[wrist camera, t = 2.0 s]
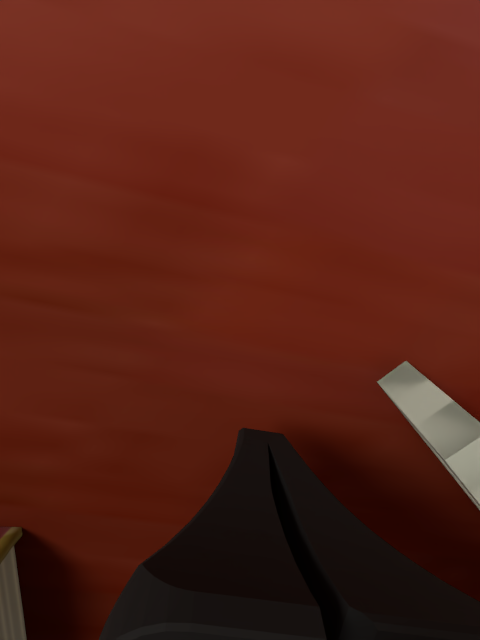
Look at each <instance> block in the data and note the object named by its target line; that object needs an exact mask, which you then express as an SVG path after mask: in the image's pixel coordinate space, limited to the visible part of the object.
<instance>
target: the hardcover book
mask: <svg viewBox="0 0 480 640" xmlns="http://www.w3.org/2000/svg"><path fill="white" fill-rule="evenodd" d="M21 537H22V527H0V640H27V637H26V630H25V623H24V615H23V608H22V600H21V593H20V586H19V578H18V571H17V564H16V556H15V549H14V545H15V544H16V542H17V541H18V540H19V539H20V538H21Z"/></svg>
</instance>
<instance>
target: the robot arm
mask: <svg viewBox="0 0 480 640" xmlns="http://www.w3.org/2000/svg"><path fill="white" fill-rule="evenodd" d="M99 640H480V602H479V601H477V600H475V599H474V598H472V597H470V596H468V595H466V594H465V593H463V592H461V591H459V590H458V589H456V588H454V587H452V586H451V585H449V584H447V583H445V582H444V581H442V580H440V579H439V578H437V577H436V576H434V575H433V574H431V573H430V572H428V571H427V570H425V569H423V568H422V567H420V566H419V565H417V564H416V563H414V562H413V561H411V560H410V559H409V558H407V557H406V556H404V555H403V554H401V553H400V552H399V551H397V550H396V549H395V548H393V547H392V546H391V545H389V544H388V543H387V542H385V541H384V540H383V539H382V538H380V537H379V536H378V535H376V534H375V533H374V532H373V531H371V530H370V529H369V528H368V527H367V526H365V525H364V524H363V523H362V522H361V521H360V520H359V519H358V518H357V517H355V516H354V515H353V514H352V513H351V512H350V511H349V510H348V509H347V508H346V507H345V506H344V505H342V504H341V503H340V502H339V501H338V500H337V499H336V497H335V496H334V495H333V494H332V493H331V492H330V491H329V490H328V489H327V488H326V487H325V486H324V485H323V483H322V482H321V481H320V480H319V479H318V478H317V477H316V475H315V474H314V473H313V472H312V471H311V469H310V468H309V467H308V466H307V465H306V463H305V462H304V461H303V460H302V458H301V457H300V456H299V454H298V453H297V452H296V450H295V449H294V448H293V447H292V445H291V444H290V443H289V441H288V440H287V439H286V437H285V436H284V435H283V434H280V433H273V432H267V431H260V430H254V429H247V428H242V429H241V430H239V433H238V438H237V443H236V448H235V453H234V456H233V458H232V461H231V463H230V465H229V467H228V469H227V471H226V473H225V474H224V476H223V478H222V480H221V481H220V483H219V485H218V486H217V488H216V489H215V491H214V492H213V494H212V495H211V496H210V498H209V499H208V501H207V502H206V503H205V504H204V506H203V507H202V508H201V509H200V510H199V512H198V513H197V514H196V515H195V516H194V517H193V519H192V520H191V521H190V522H189V523H188V524H187V525H186V526H185V527H184V528H183V529H182V530H181V531H180V532H179V533H178V534H177V535H175V536H174V537H173V538H172V539H171V540H170V541H169V542H168V543H167V544H166V545H165V546H163V547H162V548H161V549H159V550H158V551H157V552H156V553H154V554H153V555H152V556H150V557H149V558H148V559H146V560H145V561H144V562H143V563H141V564H140V565H139V566H138V567H137V569H136V570H135V572H134V573H133V575H132V577H131V578H130V580H129V581H128V583H127V584H126V586H125V588H124V590H123V591H122V593H121V595H120V596H119V598H118V600H117V602H116V603H115V605H114V607H113V609H112V611H111V613H110V615H109V617H108V619H107V621H106V623H105V626H104V628H103V630H102V633H101V635H100V638H99Z"/></svg>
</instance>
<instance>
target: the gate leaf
mask: <svg viewBox="0 0 480 640" xmlns="http://www.w3.org/2000/svg"><path fill="white" fill-rule="evenodd" d="M377 383H378V384H379V385H380V386H381V388H382V389H383V390H384V391H385V393H386V394H387V395H388V396H389V398H390V399H391V400H392V401H393V403H394V404H395V405H396V406H397V408H398V409H399V410H400V411H401V413H402V414H403V415H404V416H405V418H406V419H407V420H408V421H409V423H410V424H411V425H412V426H413V428H414V429H415V430H416V431H417V433H418V434H419V435H420V436H421V438H422V439H423V440H424V441H425V443H426V444H427V445H428V446H429V448H430V449H431V450H432V451H433V453H434V454H435V455H436V457H437V458H438V459H439V460H440V462H441V463H442V464H443V465H444V467H445V468H446V469H447V470H448V472H449V473H450V474H451V475H452V477H453V478H454V479H455V480H456V482H457V483H458V484H459V485H460V487H461V488H462V489H463V490H464V492H465V493H466V494H467V495H468V497H469V498H470V499H471V500H472V502H473V503H474V504H475V505H476V507H477V508H478V509H479V510H480V422H479V421H477V420H476V419H475V418H474V417H473V416H471V415H470V414H469V413H468V412H467V411H465V410H464V409H463V408H462V407H461V406H459V405H458V404H457V403H456V402H455V401H453V400H452V399H451V398H450V397H449V396H447V395H446V394H445V393H444V392H443V391H441V390H440V389H439V388H438V387H437V386H435V385H434V384H433V383H432V382H431V381H430V380H428V379H427V378H426V377H425V376H424V375H422V374H421V373H420V372H419V371H418V370H416V369H415V368H414V367H413V366H412V365H410V364H409V363H408V362H407V361H405V362H404V363H402V364H401V365H400V366H398V367H397V368H396V369H394V370H393V371H391V372H390V373H389V374H387V375H386V376H384V377H383V378H382V379H380V380H379V381H378V382H377Z"/></svg>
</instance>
